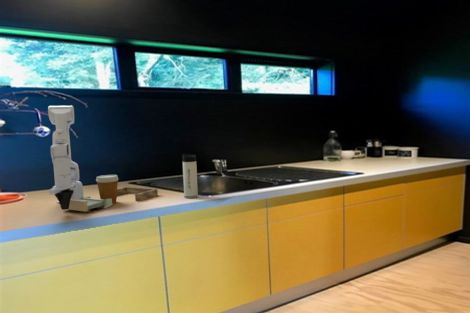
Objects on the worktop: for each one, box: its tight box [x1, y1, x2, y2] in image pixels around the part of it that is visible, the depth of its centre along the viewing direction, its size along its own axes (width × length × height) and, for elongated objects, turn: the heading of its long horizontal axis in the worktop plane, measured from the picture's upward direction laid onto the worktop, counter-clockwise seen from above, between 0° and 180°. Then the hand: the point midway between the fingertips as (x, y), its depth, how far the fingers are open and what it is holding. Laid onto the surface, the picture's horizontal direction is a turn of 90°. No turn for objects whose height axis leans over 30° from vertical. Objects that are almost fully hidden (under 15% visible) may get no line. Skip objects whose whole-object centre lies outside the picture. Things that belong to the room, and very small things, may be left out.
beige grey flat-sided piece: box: [67, 195, 113, 213], centre depth 147 cm, size 13×14×5 cm
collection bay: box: [117, 186, 159, 202], centre depth 169 cm, size 14×20×3 cm
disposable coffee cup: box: [95, 174, 119, 205], centre depth 156 cm, size 10×10×12 cm
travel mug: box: [182, 153, 199, 199], centre depth 163 cm, size 6×7×20 cm
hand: (65, 209), depth 138 cm, fingers closed
